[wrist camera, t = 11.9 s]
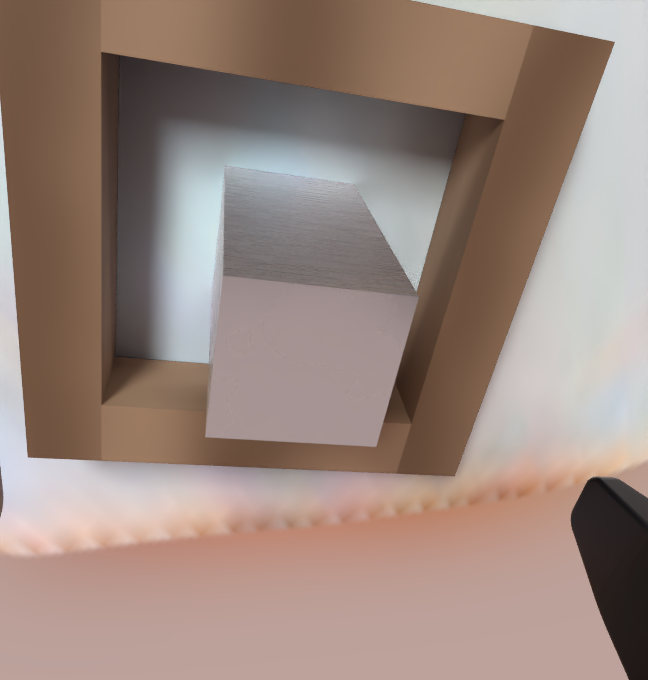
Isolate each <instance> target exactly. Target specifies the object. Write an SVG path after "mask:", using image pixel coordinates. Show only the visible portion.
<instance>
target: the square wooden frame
mask: <svg viewBox="0 0 648 680" xmlns="http://www.w3.org/2000/svg"><path fill="white" fill-rule="evenodd" d="M614 43H615V42H612V41H607V40H602V39H598V38H593V37H588V36H583V35H578V34H573V33H568V32H563V31H558V30H553V29H548V28H544V27H539V26H534V25H529V24H524V23H519V22H514V21H509V20H504V19H499V18H495V17H490V16H485V15H480V14H475V13H470V12H465V11H460V10H455V9H450V8H445V7H441V6H436V5H431V4H426V3H421V2H416V1H411V0H0V100H1V113H2V126H3V139H4V152H5V166H6V179H7V192H8V205H9V218H10V231H11V244H12V257H13V270H14V283H15V296H16V309H17V322H18V335H19V348H20V361H21V374H22V387H23V400H24V413H25V426H26V439H27V452H28V457H31V458H54V459H76V460H99V461H122V462H145V463H168V464H191V465H213V466H236V467H259V468H282V469H305V470H328V471H351V472H373V473H396V474H419V475H442V476H455V474H456V471H457V469H458V466H459V463H460V460H461V458H462V455H463V452H464V450H465V447H466V444H467V441H468V439H469V436H470V433H471V431H472V428H473V425H474V422H475V420H476V417H477V414H478V412H479V409H480V406H481V404H482V401H483V398H484V395H485V393H486V390H487V387H488V385H489V382H490V379H491V376H492V374H493V371H494V368H495V366H496V363H497V360H498V357H499V355H500V352H501V349H502V347H503V344H504V341H505V338H506V336H507V333H508V330H509V328H510V325H511V322H512V319H513V317H514V314H515V311H516V309H517V306H518V303H519V300H520V298H521V295H522V292H523V290H524V287H525V284H526V282H527V279H528V276H529V273H530V271H531V268H532V265H533V263H534V260H535V257H536V254H537V252H538V249H539V246H540V244H541V241H542V238H543V235H544V233H545V230H546V227H547V225H548V222H549V219H550V216H551V214H552V211H553V208H554V206H555V203H556V200H557V197H558V195H559V192H560V189H561V187H562V184H563V181H564V178H565V176H566V173H567V170H568V168H569V165H570V162H571V160H572V157H573V154H574V151H575V149H576V146H577V143H578V141H579V138H580V135H581V132H582V130H583V127H584V124H585V122H586V119H587V116H588V113H589V111H590V108H591V105H592V103H593V100H594V97H595V94H596V92H597V89H598V86H599V84H600V81H601V78H602V75H603V73H604V70H605V67H606V65H607V62H608V59H609V56H610V54H611V51H612V48H613V46H614ZM119 55H124V56H129V57H135V58H141V59H147V60H153V61H159V62H165V63H171V64H177V65H183V66H189V67H195V68H201V69H206V70H212V71H218V72H224V73H230V74H236V75H242V76H248V77H254V78H260V79H266V80H272V81H278V82H283V83H289V84H295V85H301V86H307V87H313V88H319V89H325V90H331V91H337V92H343V93H349V94H355V95H360V96H366V97H372V98H378V99H384V100H390V101H396V102H402V103H408V104H414V105H420V106H426V107H432V108H437V109H443V110H449V111H455V112H461V113H466V115H465V119H464V123H463V126H462V130H461V133H460V137H459V141H458V144H457V148H456V152H455V155H454V159H453V162H452V166H451V170H450V173H449V177H448V181H447V184H446V188H445V191H444V195H443V199H442V202H441V206H440V210H439V213H438V217H437V220H436V224H435V228H434V231H433V235H432V239H431V242H430V246H429V249H428V253H427V257H426V260H425V264H424V268H423V271H422V275H421V278H420V282H419V286H418V289H417V295H418V296H419V298H418V302H417V305H416V309H415V312H414V316H413V319H412V323H411V326H410V330H409V333H408V337H407V341H406V344H405V348H404V351H403V355H402V358H401V362H400V365H399V369H398V372H397V376H396V379H395V383H394V386H393V390H392V393H391V397H390V400H389V404H388V407H387V411H386V414H385V418H384V421H383V425H382V428H381V432H380V435H379V439H378V442H377V446H376V447H369V446H351V445H334V444H316V443H298V442H280V441H263V440H245V439H227V438H209V437H205V431H206V411H207V391H208V371H209V364H203V363H190V362H177V361H164V360H151V359H138V358H124V357H116V280H117V198H118V115H119Z"/></svg>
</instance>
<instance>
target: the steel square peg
mask: <svg viewBox="0 0 648 680" xmlns="http://www.w3.org/2000/svg"><path fill="white" fill-rule="evenodd" d="M418 298H419V296H418V295H417V293H416V291H415V289H414V288H413V286H412V284H411V282H410V281H409V279H408V277H407V275H406V274H405V272H404V270H403V268H402V267H401V265H400V263H399V261H398V260H397V258H396V256H395V255H394V253H393V251H392V249H391V248H390V246H389V244H388V242H387V241H386V239H385V237H384V235H383V234H382V232H381V230H380V228H379V227H378V225H377V223H376V222H375V220H374V218H373V216H372V215H371V213H370V211H369V209H368V208H367V206H366V204H365V202H364V201H363V199H362V197H361V195H360V194H359V192H358V190H357V188H356V187H355V185H354V184H348V183H341V182H334V181H327V180H320V179H313V178H306V177H299V176H293V175H286V174H279V173H272V172H265V171H258V170H251V169H244V168H237V167H230V166H225V171H224V181H223V191H222V200H221V210H220V220H219V230H218V239H217V249H216V259H215V269H214V278H213V291H212V311H211V331H210V351H209V371H208V391H207V411H206V431H205V437H209V438H227V439H245V440H263V441H280V442H298V443H316V444H334V445H351V446H369V447H376V446H377V442H378V439H379V435H380V432H381V428H382V425H383V421H384V418H385V414H386V411H387V407H388V404H389V400H390V397H391V393H392V390H393V386H394V383H395V379H396V376H397V372H398V369H399V365H400V362H401V358H402V355H403V351H404V348H405V344H406V341H407V337H408V333H409V330H410V326H411V323H412V319H413V316H414V312H415V309H416V305H417V302H418Z"/></svg>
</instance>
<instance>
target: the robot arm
mask: <svg viewBox="0 0 648 680" xmlns="http://www.w3.org/2000/svg"><path fill="white" fill-rule="evenodd" d="M2 507H3V487H2V478H1V468H0V516H1V512H2ZM571 526H572V530H573V533H574V536H575V539H576V542H577V545H578V548H579V551H580V554H581V557H582V560H583V563H584V566H585V569H586V572H587V575H588V578H589V582H590V585H591V587H592V591H593V593H594V597H595V600H596V602H597V605H598V608H599V611H600V614H601V616H602V619H603V621H604V623H605V626H606V628H607V630H608V633H609V635H610V637H611V640H612V642H613V644H614V647H615V649H616V651H617V653H618V656H619V658H620V660H621V663H622V665H623V667H624V669H625V672H626V674H627V676H628V679H629V680H648V498H647V497H645V496H644V495H642V494H641V493H639V492H638V491H636V490H635V489H633V488H632V487H630V486H629V485H627V484H625V483H624V482H622V481H621V480H619V479H617V478H613V477H592V478H591V479H590V480H588V481H587V483H586V485H585V487H584V489H583V491H582V493H581V495H580V497H579V499H578V501H577V502H576V504H575V506H574V508H573V511H572V513H571Z"/></svg>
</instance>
